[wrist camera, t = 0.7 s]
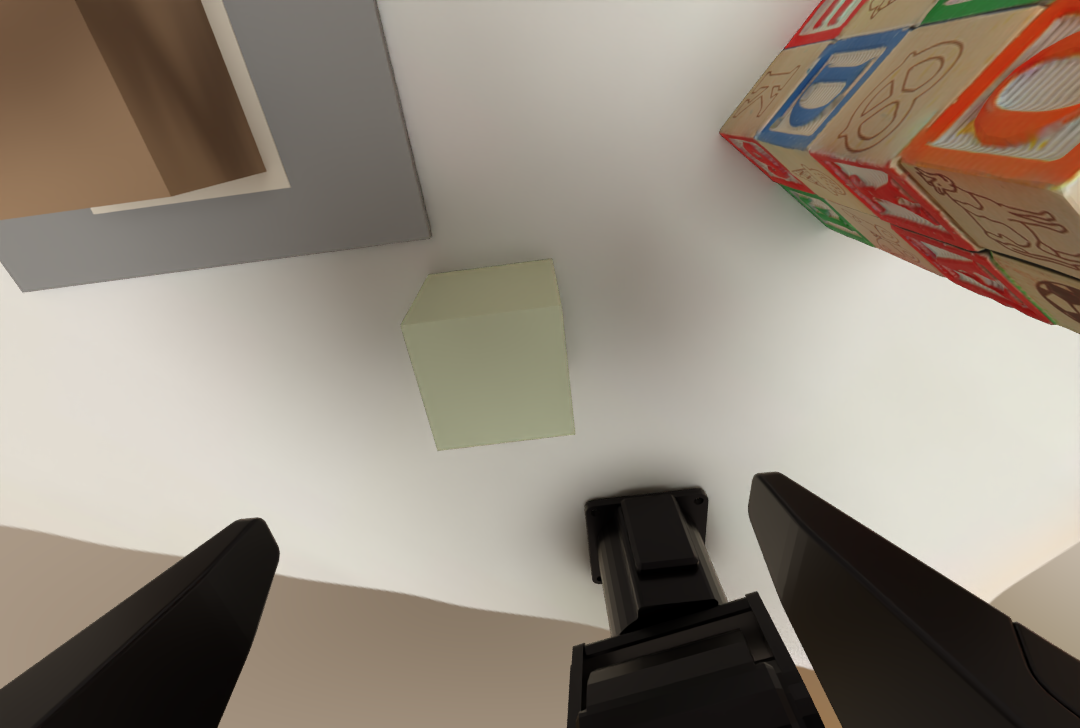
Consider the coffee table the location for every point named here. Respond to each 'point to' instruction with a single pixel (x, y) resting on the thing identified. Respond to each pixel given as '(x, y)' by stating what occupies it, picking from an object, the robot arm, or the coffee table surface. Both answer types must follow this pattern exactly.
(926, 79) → the stack of blocks
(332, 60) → the mat
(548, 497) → the coffee table surface
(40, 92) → the walnut base
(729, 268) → the coffee table surface
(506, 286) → the sage cube
